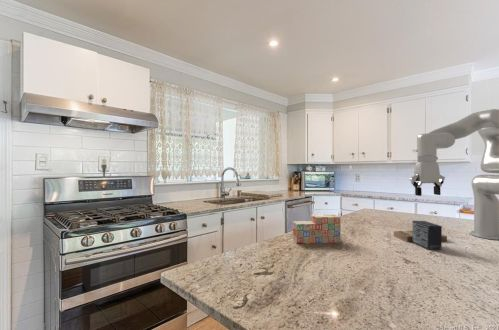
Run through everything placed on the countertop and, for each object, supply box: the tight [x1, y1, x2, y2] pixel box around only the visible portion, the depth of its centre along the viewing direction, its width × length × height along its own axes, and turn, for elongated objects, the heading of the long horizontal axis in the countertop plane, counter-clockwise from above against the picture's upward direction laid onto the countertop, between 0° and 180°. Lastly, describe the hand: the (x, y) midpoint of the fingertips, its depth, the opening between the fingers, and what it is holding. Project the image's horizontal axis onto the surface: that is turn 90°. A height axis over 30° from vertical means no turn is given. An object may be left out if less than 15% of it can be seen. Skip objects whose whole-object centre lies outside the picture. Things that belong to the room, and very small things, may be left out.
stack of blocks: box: [292, 213, 341, 244], centre depth 120 cm, size 21×6×12 cm, turn 96°
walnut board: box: [393, 230, 448, 243], centre depth 124 cm, size 20×10×3 cm, turn 94°
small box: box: [411, 220, 443, 251], centre depth 113 cm, size 11×6×10 cm, turn 1°
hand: (427, 195), depth 120 cm, fingers open, 9 cm apart
